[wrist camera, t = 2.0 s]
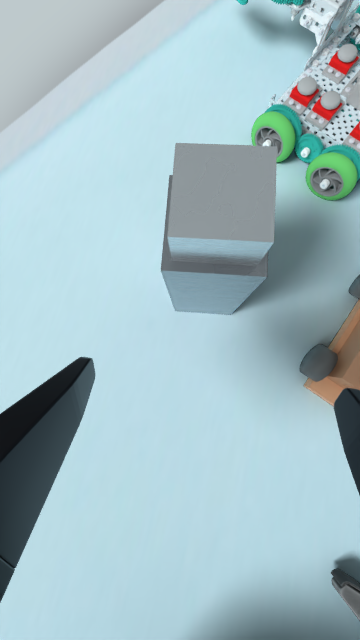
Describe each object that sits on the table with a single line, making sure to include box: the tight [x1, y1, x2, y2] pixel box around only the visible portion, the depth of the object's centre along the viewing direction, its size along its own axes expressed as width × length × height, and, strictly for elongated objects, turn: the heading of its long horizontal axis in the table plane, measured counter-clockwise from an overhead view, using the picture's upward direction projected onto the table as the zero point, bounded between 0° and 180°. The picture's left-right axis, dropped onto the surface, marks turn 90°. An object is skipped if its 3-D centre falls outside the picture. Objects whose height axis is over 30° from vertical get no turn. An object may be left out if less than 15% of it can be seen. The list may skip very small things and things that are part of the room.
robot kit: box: [237, 0, 360, 200], centre depth 21 cm, size 19×25×9 cm
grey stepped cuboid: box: [161, 143, 277, 315], centre depth 16 cm, size 5×5×14 cm
